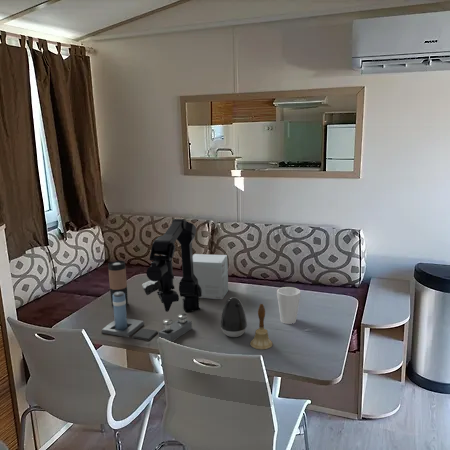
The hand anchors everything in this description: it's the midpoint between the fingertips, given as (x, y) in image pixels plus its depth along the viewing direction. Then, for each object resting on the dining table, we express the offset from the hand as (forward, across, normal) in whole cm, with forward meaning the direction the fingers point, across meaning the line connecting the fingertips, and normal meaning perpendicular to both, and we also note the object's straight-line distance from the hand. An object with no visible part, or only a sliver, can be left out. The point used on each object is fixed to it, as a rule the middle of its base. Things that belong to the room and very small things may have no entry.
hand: (167, 311), depth 171 cm
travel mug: (+12, -41, -15) cm, 45 cm away
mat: (+11, -6, -8) cm, 15 cm away
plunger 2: (+10, -6, +7) cm, 13 cm away
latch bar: (+11, -3, +3) cm, 12 cm away
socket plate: (+11, -15, -16) cm, 24 cm away
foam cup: (+12, +1, +50) cm, 51 cm away
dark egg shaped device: (+12, +5, +25) cm, 28 cm away
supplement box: (+12, -40, +27) cm, 50 cm away
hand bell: (+12, +16, +32) cm, 38 cm away
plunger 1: (+8, 0, 0) cm, 8 cm away
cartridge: (+11, -14, -17) cm, 24 cm away
